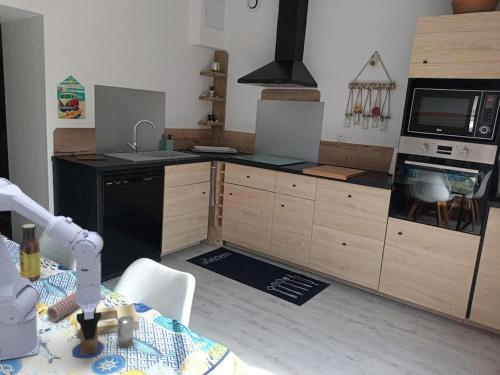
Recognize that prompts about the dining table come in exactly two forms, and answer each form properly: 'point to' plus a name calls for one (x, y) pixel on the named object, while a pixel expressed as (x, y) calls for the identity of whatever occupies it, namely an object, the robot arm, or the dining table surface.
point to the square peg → (89, 343)
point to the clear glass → (125, 332)
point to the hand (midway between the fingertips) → (89, 330)
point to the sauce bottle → (29, 253)
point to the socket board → (112, 313)
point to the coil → (62, 307)
